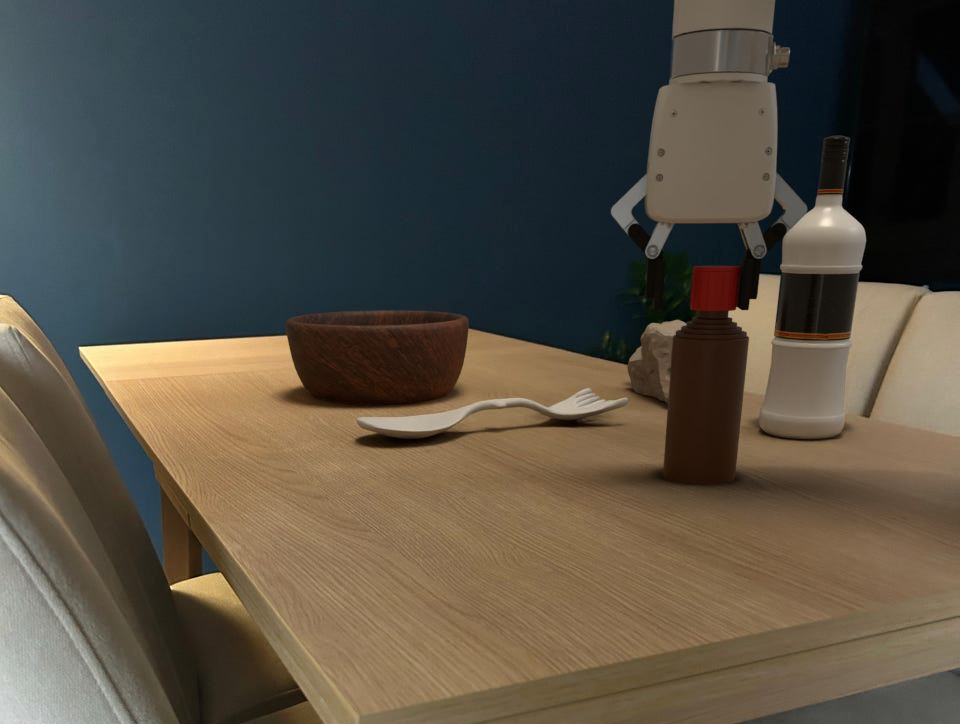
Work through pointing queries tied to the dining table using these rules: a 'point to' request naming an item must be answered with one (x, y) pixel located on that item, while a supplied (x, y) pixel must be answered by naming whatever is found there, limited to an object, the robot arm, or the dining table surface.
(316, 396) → the wooden bowl
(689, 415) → the sauce bottle
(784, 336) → the vodka
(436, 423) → the white spork
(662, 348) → the decorative stone
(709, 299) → the cap
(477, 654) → the dining table surface
